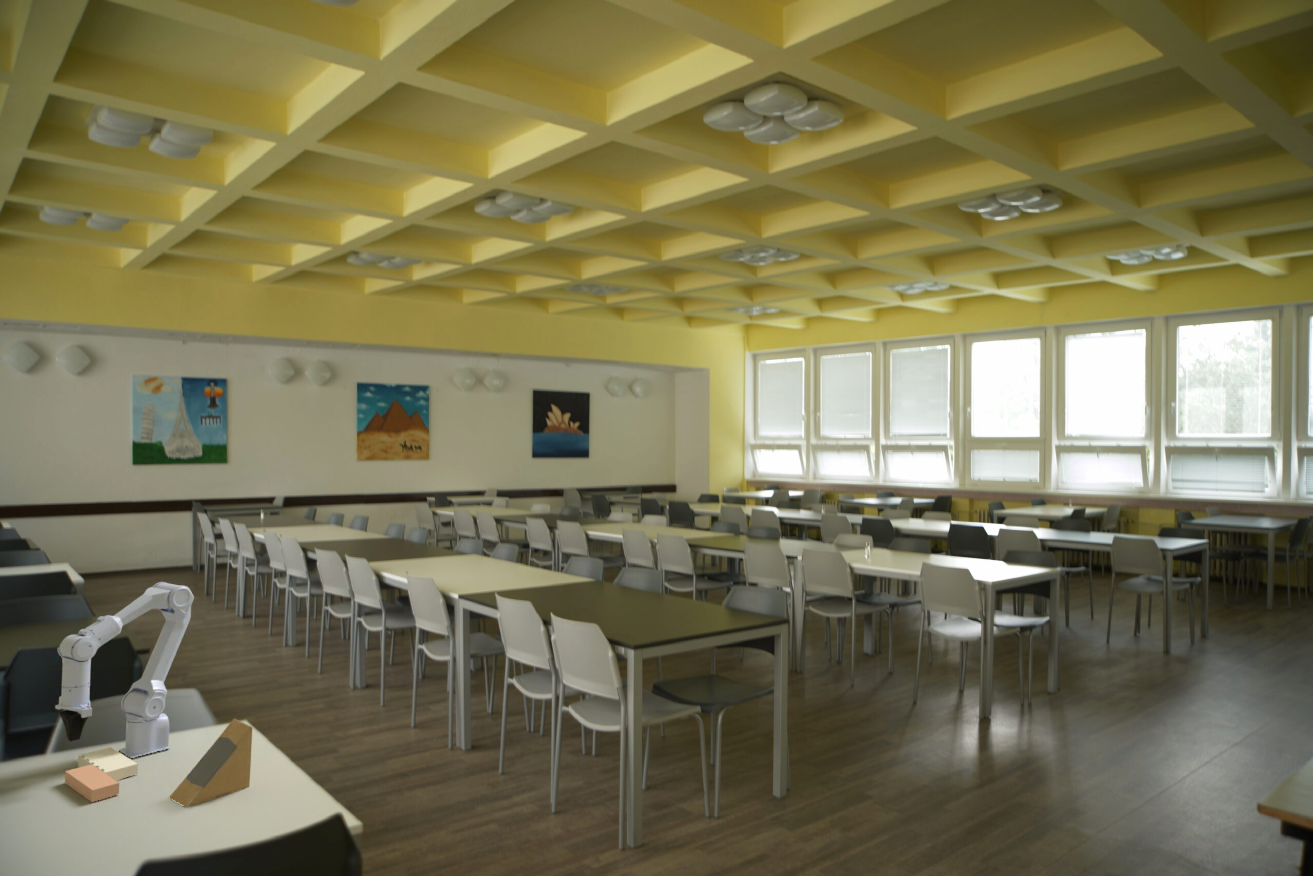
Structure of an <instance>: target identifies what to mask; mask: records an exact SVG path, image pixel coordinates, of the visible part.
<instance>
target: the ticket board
mask: <svg viewBox="0 0 1313 876" xmlns="http://www.w3.org/2000/svg"><path fill="white" fill-rule="evenodd" d="M77 761H78V763H77V766H79V767H83V766H87V765H93V766H95V767H96V768H98V769H99V770H101V771H102V772H104V773H105V774H107V775H108V776H110V777H111V778H113V779H114V780H118V781H120V780H119V779H122V778H125V777H128V776H131V775H135V774H137V775H138V770H139V767H138V766H139V763H138V762H135V761H134V760H133V759H131V758H129V757H127V756H126V755H124V754H122V753H121V752H119V750H116V749H115V748H112V747H105V748H102V749H98V750H94V751H90V752H85V753H82V754H78V759H77ZM79 767H78V768H79ZM122 780H123V779H122Z"/></svg>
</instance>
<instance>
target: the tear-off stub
mask: <svg viewBox="0 0 1313 876" xmlns="http://www.w3.org/2000/svg"><path fill="white" fill-rule="evenodd" d="M64 774H65V775H64V784H66V785H67V786H68V787H70V788H71V789H73V790H74V791H75V792H77V793H78V794H80V795H81V796H82V795H83V796H82V797H84V798H85V799H86V800H88V801H89V802H91V803H95V802H94V801H96V802H99V801H103V800H105V798H106V799H109V798H108V797H110V798H112V796H113V797H115V796H114V795H116V796H118V795H117V794H120V782H119V781H116V780H114V779H113V778H111V777H110V776H108V775H107V774H105V773H104V772H102V771H101V770H99V769H98V768H96V767H95V766H93V765H87V766H83V767H76V768H72V769H69V770H65V771H64ZM102 799H103V800H102ZM98 800H99V801H98Z"/></svg>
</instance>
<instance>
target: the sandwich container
mask: <svg viewBox="0 0 1313 876" xmlns="http://www.w3.org/2000/svg"><path fill="white" fill-rule="evenodd" d="M252 740H253V726H251V725H249V724H247V723H245V722H243V721H240V720H239V719H236V718H233V719H232V720H231V721H230V722H229V724H228V725H227V726H226V728H225V729H224V730H222V733H221V734H220V735H219V737H218V738H216V740H215V741H214V743H213V744H212V745H211V747H210V748H208V749H207V751H206V753H204V755H203V756H202V757H201V758H200V760H199V761H198V762H197V763H196V764H195V766H194V767H193V768H192V769H191V770H190V772H189V773H188V774H187V775H186V777H185V778H184V779H183V780H182V782H181V783H180V784H179V785H178V786H177V787H176V788H175V790H174V791H173V792H172V793H171V794H170V795H169V797H170V798H171V799H173V800H175V801H176V802H179V803H180V804H182V805H184V806H185V807H186V808H189V807H188V806H190V807H192V805H193V806H195V805H200V804H201V803H202V804H203V803H205V802H207V801H208V802H209V801H211V800H214V799H218V798H220V797H223V795H224V796H226V795H229V794H232V793H235V792H238V790H239V791H241V790H244V789H247V788H250V782H251V765H252V764H251V762H252V746H253V745H252ZM171 799H170V800H171ZM185 807H184V808H185Z"/></svg>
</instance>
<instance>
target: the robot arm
mask: <svg viewBox="0 0 1313 876" xmlns="http://www.w3.org/2000/svg"><path fill="white" fill-rule="evenodd" d="M194 599H195V596H194V594H193V593H192V591H191V588H190V587H188V586H186V585H178V584H175V583H174V584H172V583H168V582H166V581H160V582H159V581H158V582H157V583H154V585H153V586H150V587H148V588H146V589H145V591H144V592H143V594H141V595H140V596H138V598H136V599H135V600H133V601H132V602H131V603H129V604H128V605H127V606H125V607H124V608H122V609H121V610H119V611H118V612H117V613H115V614H114V615H111V614H110V615H109V614H107V615H104V616H102V615H99V616H98V618H96V621H95V622H93V623H91V624H90V625H88V626H87V627H85V628H82V629H80V630H78V633H77V634H70V635H68V636H66V637H65V638H64V639H63V640H62V641H61V642H60V644H59V647H57V648H56V649H57V653H58V655H59V656H60V657H61V659H62V660H61V661H62V662H61V663H62V668H61V670H62V672H61V695H60V696H59V697H58V704H55V705H54V706H55V707H54V708H55V709H56V710H61V711H59V712H58V716H60V718H61V720H62V722H63V725H64V729H65V734H66V737H67V740H68V742H73V741H78V740H80V738H81V736H82V733H83V730H84V727H85V724H86V722H87V721H88V718H89V717H92V715H93V708H92V707H91V700H90V694H91V693H90V692H91V691H90V689H91V688H90V687H91V666H92V665H91V664H92V658H93V657H95V655H96V653H97V651H98V649H100V647H102V646H104V644H106V643H108V642H109V641H110V640H112V639H114V638H115V637H116V636H118V635H120V634H121V632H122V628H123V626H125V625H127V624H129V623H130V622H132V621H134V620H135V619H137V618H139V617H141V616H142V615H144V614H145V613H147V612H149V611H150V610H159V611H160V612H161V614H162V616H163V617H164V618H165V622H164V624H163V627H162V629H161V631H160V634H159V637H158V639H156V640H157V641H156V643H155V645H154V648H153V650H152V652H151V654H150V657H149V659H148V662H147V664H146V666H145V667H144V668H145V669H144V671H143V673H142V675H141V677H140V678H139V679H138V680H137V681H135V682H133V683H132V684H131V686H130V688H129V690H128V691H127V692H126V693H125V695H124V696H123V697H122V699H121V702H120V708H121V710H122V711H123V712H124V713H125V718H126V723H125V724H126V726H125V746H124V747H123V748H120V749H118V752H119V751H120V752H119V753H121V752H122V753H124V754H125V755H124V754H123V755H124V756H126V755H127V756H128V757H127V756H126V757H127V758H129V757H130V758H129V759H131V758H133V759H136V758H135V757H137V758H139V757H138V756H141V755H144V754H148V755H150V754H149V753H152V754H154V753H153V752H156V753H158V752H157V751H160V752H163V751H162V750H164V751H166V750H165V749H168V750H170V746H169V741H170V739H169V738H170V721H169V716H167V714H166V713H164V710H165V707H166V697H167V696H168V695H167V694H168V690H167V688H166V686H165V681H166V678H167V676H168V673H169V671H170V669H171V667H172V664H173V661H174V659H175V657H176V655H177V651H178V650H179V647H180V645H181V642H182V641H183V638H184V635H185V633H186V631H187V628H188V625H189V624H190V621H191V618H192V604H193V602H194ZM122 753H121V754H122ZM141 757H142V756H141Z"/></svg>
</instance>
